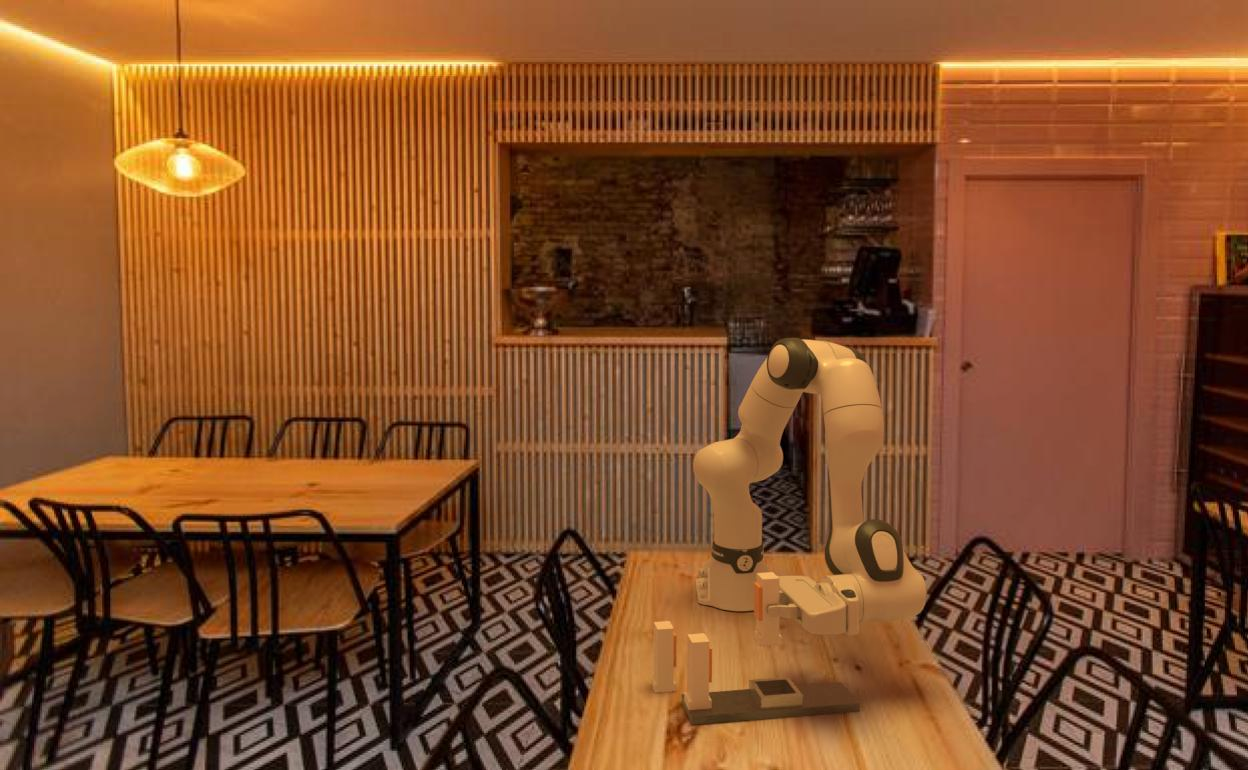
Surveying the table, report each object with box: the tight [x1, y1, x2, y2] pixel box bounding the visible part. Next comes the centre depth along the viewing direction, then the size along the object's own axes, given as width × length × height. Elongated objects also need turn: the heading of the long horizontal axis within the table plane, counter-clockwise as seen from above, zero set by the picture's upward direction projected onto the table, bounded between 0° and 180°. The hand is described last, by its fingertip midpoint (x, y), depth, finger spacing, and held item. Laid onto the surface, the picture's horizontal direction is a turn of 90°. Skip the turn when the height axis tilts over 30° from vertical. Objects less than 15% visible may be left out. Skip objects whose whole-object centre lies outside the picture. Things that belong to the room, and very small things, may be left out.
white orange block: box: [650, 620, 678, 694], centre depth 153 cm, size 4×4×12 cm
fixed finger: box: [683, 632, 713, 710], centre depth 144 cm, size 4×4×12 cm
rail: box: [680, 676, 861, 726], centre depth 147 cm, size 8×30×4 cm, turn 99°
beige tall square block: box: [753, 571, 783, 647], centre depth 147 cm, size 4×4×12 cm
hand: (763, 605), depth 147 cm, fingers closed on beige tall square block, 3 cm apart
